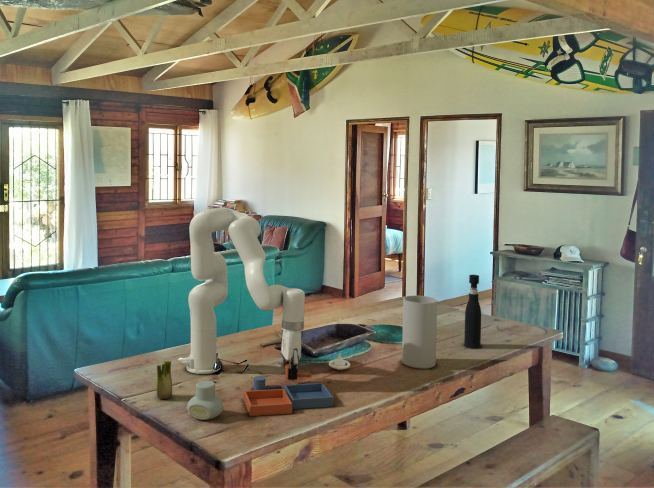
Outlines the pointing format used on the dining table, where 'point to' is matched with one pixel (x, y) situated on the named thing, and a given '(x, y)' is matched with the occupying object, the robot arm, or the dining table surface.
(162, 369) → the fennel bulb
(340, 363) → the ring around a ball
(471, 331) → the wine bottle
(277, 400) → the terracotta bin
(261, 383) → the blue handled cylinder
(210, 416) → the air freshener
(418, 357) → the cylinder vase
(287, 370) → the orange toy mallet
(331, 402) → the slate bin
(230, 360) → the dining table surface
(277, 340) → the jawbone
